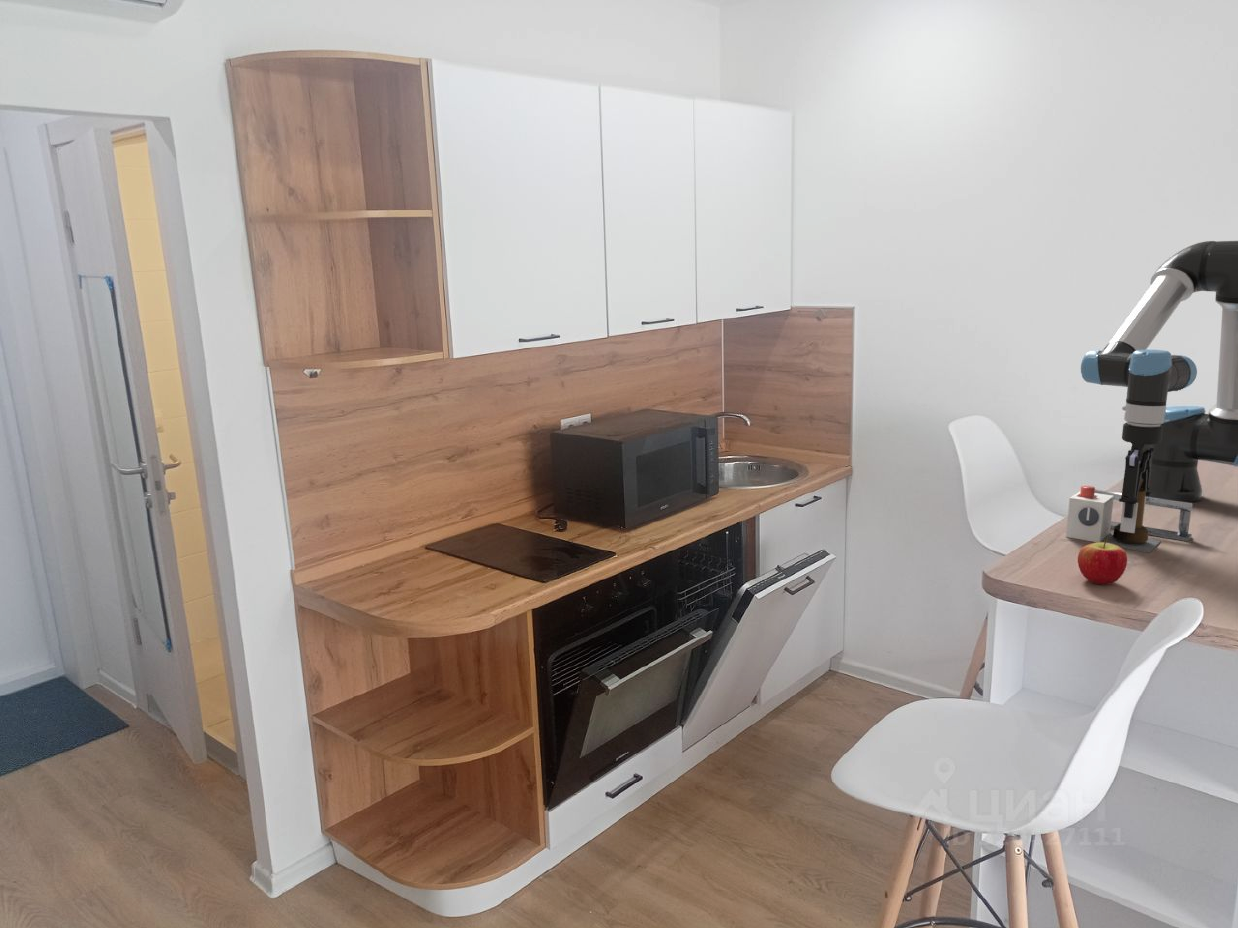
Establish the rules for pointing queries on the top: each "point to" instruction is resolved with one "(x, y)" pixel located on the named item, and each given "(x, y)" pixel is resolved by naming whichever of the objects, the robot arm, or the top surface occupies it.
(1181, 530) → the handrail
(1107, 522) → the white dial box
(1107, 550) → the apple
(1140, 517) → the brown wooden tall piece
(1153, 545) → the pad
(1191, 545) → the top surface
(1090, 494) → the button
